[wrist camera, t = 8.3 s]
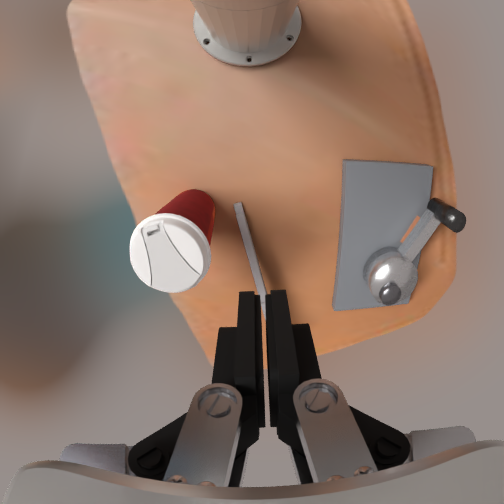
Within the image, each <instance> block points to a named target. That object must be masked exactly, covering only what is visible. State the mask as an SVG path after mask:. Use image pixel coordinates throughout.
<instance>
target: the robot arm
mask: <svg viewBox="0 0 504 504" xmlns="http://www.w3.org/2000/svg"><path fill="white" fill-rule="evenodd" d="M191 2H192V4H193V5H194V7H195V9H196V11H195V14H194V18H193V28H194V33H195V36H196V38H197V40H198V42H199V43H200V45H201V46H202V47H203V49H204V50H205V51H206V52H207V53H209V54H210V55H211V56H212V57H214V58H216V59H218V60H220V61H221V62H224V63H227V64H230V65H236V66H258V65H263V64H266V63H269V62H272V61H274V60H276V59H278V58H280V57H281V56H283V55H284V54H285V53H286V52H288V51H289V50H290V48H291V47H292V46H293V45H294V44H295V42H296V40H297V38H298V36H299V33H300V30H301V24H302V22H301V14H300V11H299V8H298V6H297V4H298V2H299V0H191ZM287 38H290V39H291V41H288V40H287ZM206 42H210V43H209V44H208V45H206ZM248 59H251V60H252V61H251V62H248V61H247V60H248ZM265 310H266V343H267V366H268V386H269V404H270V405H269V406H270V426H271V427H277V435H278V438H279V439H280V440H282V441H283V442H284V443H286V444H287V445H288V448H289V452H290V456H291V460H292V463H293V467H294V470H295V474H296V478H297V481H298V485H290V486H276V487H242V484H243V479H244V473H245V469H246V464H247V459H248V454H249V447H250V446H251V445H252V444H254V443H255V442H256V441H257V440H258V439H259V428H261V427H265V402H264V374H263V348H262V323H261V300H260V295H255V294H254V291H245V292H239V305H238V320H237V327H220V328H219V332H218V339H217V346H216V354H215V362H214V369H213V377H212V384H210V385H207V386H205V387H203V388H201V389H200V390H199V391H197V392H196V393H195V395H194V397H193V399H192V402H191V404H190V407H189V410H188V412H187V413H185V414H184V415H182V416H181V417H179V418H178V419H176V420H175V421H173V422H171V423H170V424H168V425H167V426H165V427H163V428H162V429H160V430H158V431H157V432H155V433H153V434H152V435H150V436H149V437H147V438H145V439H143V440H142V441H140V442H138V443H137V444H136V445H134V446H126V444H82V443H75V444H70V445H69V446H66V447H65V448H64V450H63V451H62V453H61V456H60V461H57V460H55V461H54V460H45V461H37V462H32V463H28V464H26V465H24V466H23V467H21V468H20V469H19V470H18V471H17V473H16V474H15V476H14V477H13V479H12V481H11V483H10V485H9V486H8V489H7V491H6V494H5V496H4V499H3V502H2V504H504V441H502V440H484V441H477V442H476V439H475V436H474V434H473V432H472V431H471V430H470V429H469V428H466V427H464V426H456V427H448V428H440V429H430V430H419V431H411V432H410V433H409V434H403V433H401V432H400V431H398V430H396V429H394V428H392V427H390V426H388V425H386V424H384V423H382V422H380V421H378V420H376V419H374V418H372V417H370V416H368V415H366V414H364V413H362V412H360V411H359V410H357V409H355V408H353V407H351V406H349V405H348V403H347V401H346V399H345V397H344V395H343V392H342V391H341V389H340V388H339V387H338V386H337V385H336V384H334V383H333V382H331V381H328V380H326V379H321V374H320V370H319V365H318V361H317V356H316V352H315V347H314V343H313V339H312V335H311V330H310V326H309V324H308V323H307V324H291V318H290V312H289V306H288V300H287V295H286V290H271V294H267V295H265Z"/></svg>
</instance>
